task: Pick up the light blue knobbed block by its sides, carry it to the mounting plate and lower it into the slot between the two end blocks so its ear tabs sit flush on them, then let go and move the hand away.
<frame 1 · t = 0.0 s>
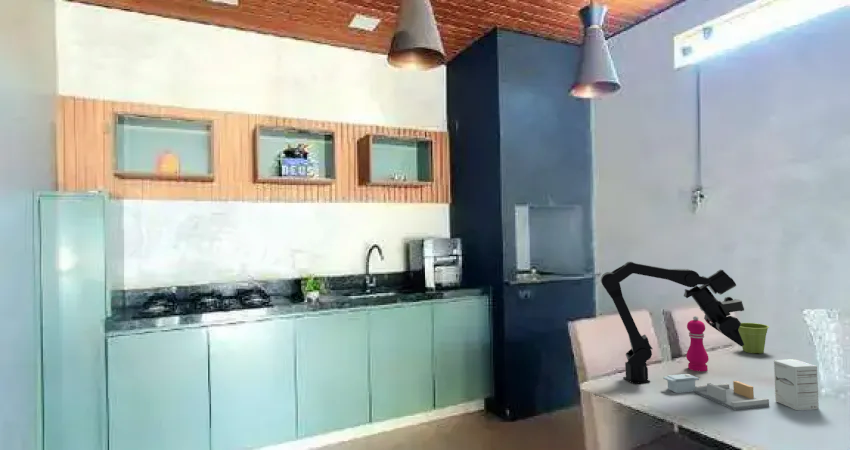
hand: (737, 342, 151), 15 cm above the table, tool tilted 35°, fingers open, 9 cm apart
pepper mill: (697, 369, 172), on the table
mounting plate: (730, 399, 141), on the table
plant pot: (752, 352, 194), on the table
supplement box: (796, 406, 134), on the table
light blue knobbed block: (681, 390, 150), on the table
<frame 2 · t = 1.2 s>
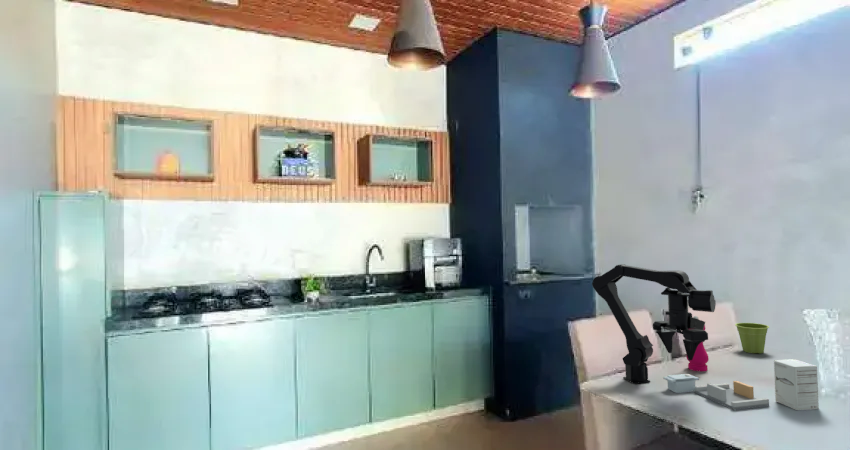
hand: (679, 356, 151), 11 cm above the table, tool pointing down, fingers open, 9 cm apart
nothing on the table moved.
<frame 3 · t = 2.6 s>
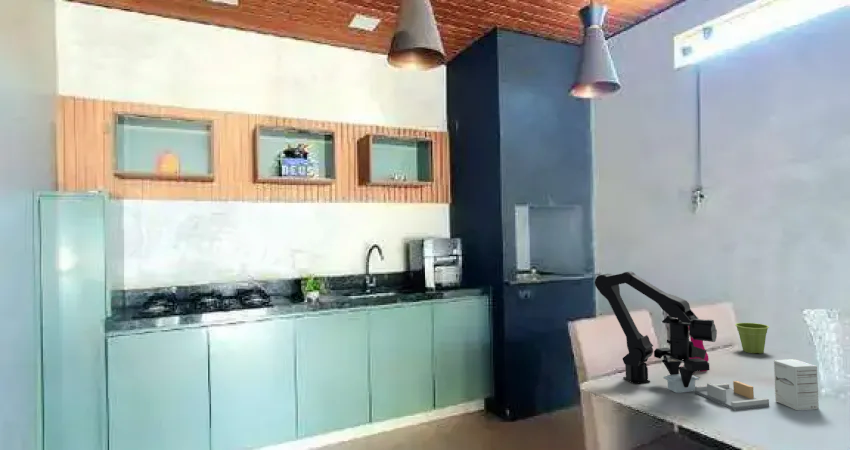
hand: (681, 385, 150), 2 cm above the table, tool pointing down, fingers closed on light blue knobbed block, 4 cm apart
light blue knobbed block: (681, 389, 150), on the table, touching gripper
everything else where it was.
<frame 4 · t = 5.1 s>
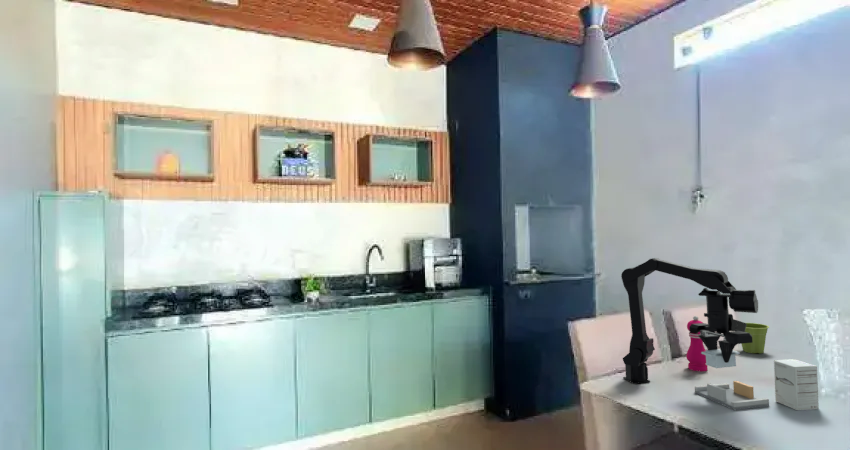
hand: (720, 360, 143), 11 cm above the table, tool pointing down, fingers closed on light blue knobbed block, 4 cm apart
light blue knobbed block: (721, 365, 142), point 10 cm above the table, touching gripper
everything else where it was.
when the fingers open (3 cm above the table, at t = 7.9 s): light blue knobbed block stays where it is, resting on mounting plate.
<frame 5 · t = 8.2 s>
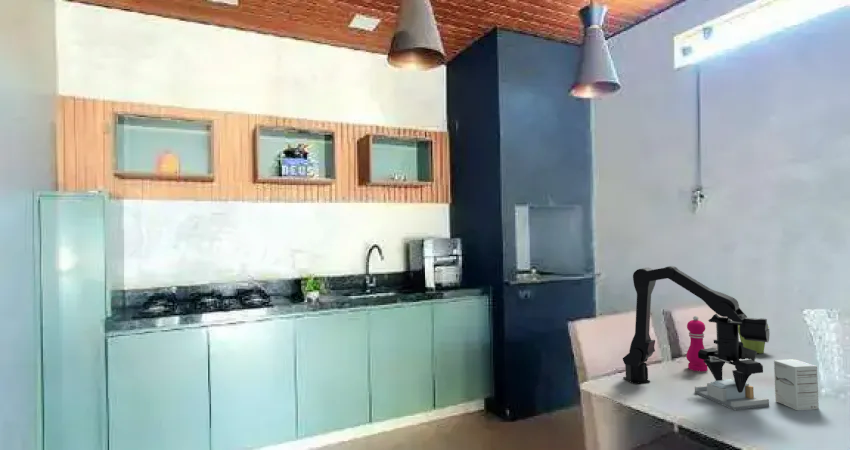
hand: (729, 388, 141), 3 cm above the table, tool pointing down, fingers open, 7 cm apart
light blue knobbed block: (730, 396, 141), point 1 cm above the table, touching mounting plate
everything else where it was.
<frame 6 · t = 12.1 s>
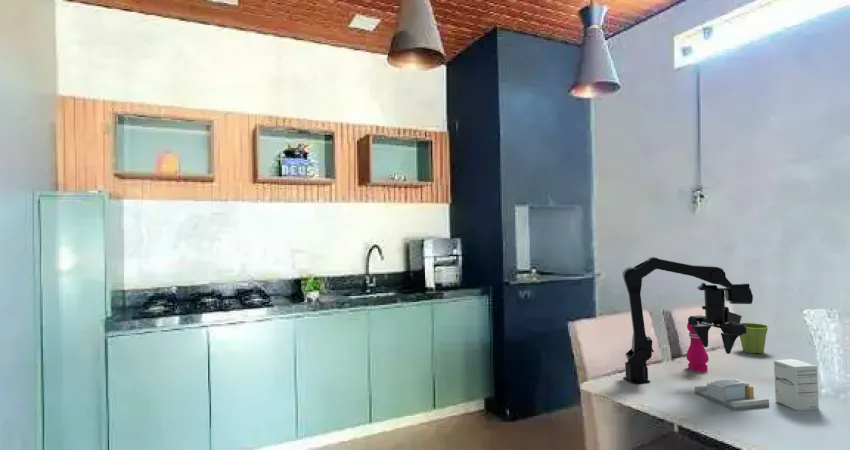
hand: (716, 350, 153), 12 cm above the table, tool pointing down, fingers open, 9 cm apart
nothing on the table moved.
at the end: light blue knobbed block 0.0 cm off-centre on the mounting plate, point 0.8 cm above the mounting plate's base; light blue knobbed block tilted 0°; the gripper is holding nothing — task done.
